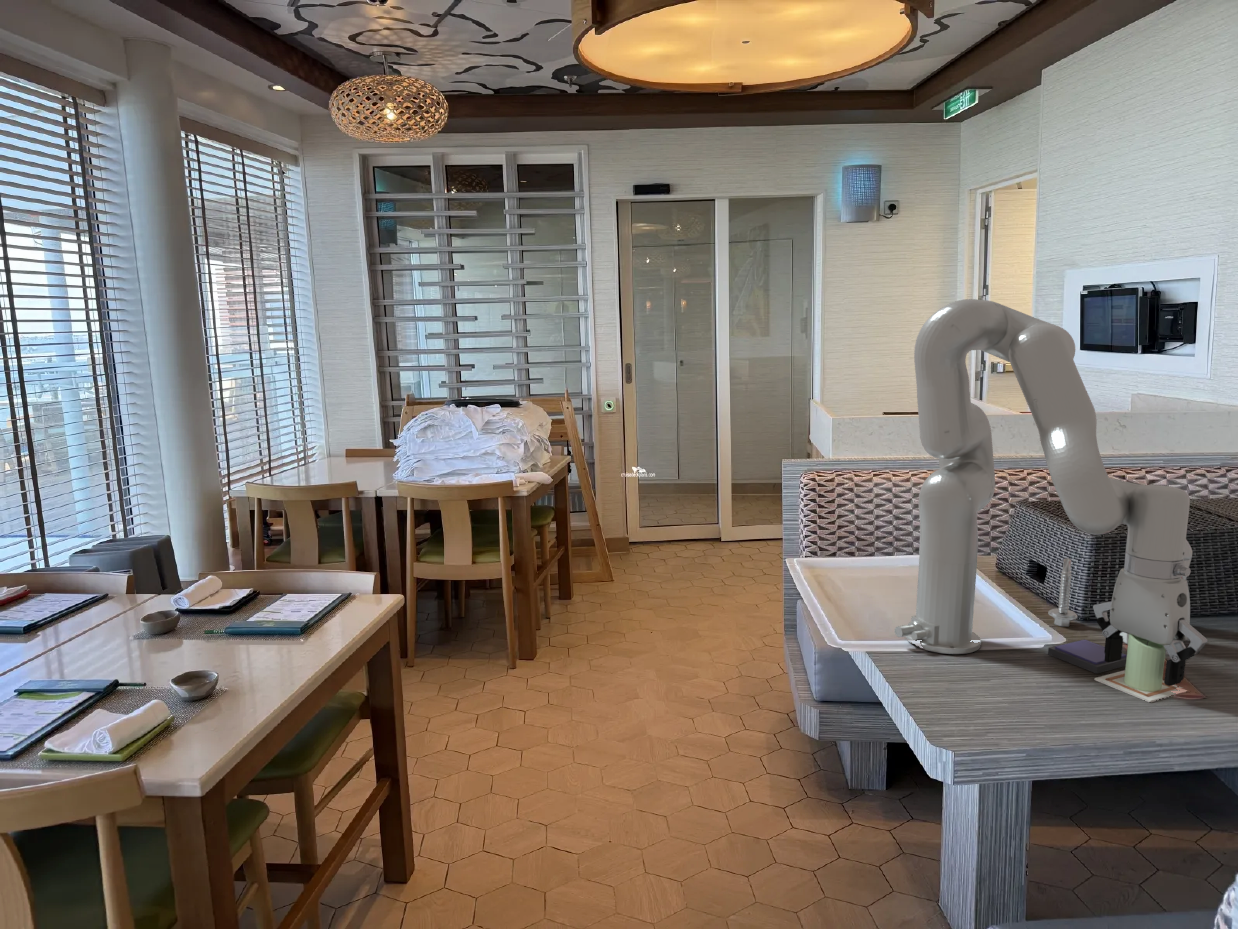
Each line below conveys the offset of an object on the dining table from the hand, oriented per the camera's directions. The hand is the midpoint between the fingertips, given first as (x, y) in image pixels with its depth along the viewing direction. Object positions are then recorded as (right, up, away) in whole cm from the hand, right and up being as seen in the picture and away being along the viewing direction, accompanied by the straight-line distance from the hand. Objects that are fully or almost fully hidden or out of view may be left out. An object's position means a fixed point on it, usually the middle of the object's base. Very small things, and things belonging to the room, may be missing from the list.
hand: (1141, 672), depth 132 cm
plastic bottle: (+20, +2, +26) cm, 33 cm away
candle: (0, -2, 0) cm, 2 cm away
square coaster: (0, -2, 0) cm, 2 cm away
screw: (+2, +2, +27) cm, 27 cm away
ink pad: (-2, -1, +11) cm, 11 cm away
